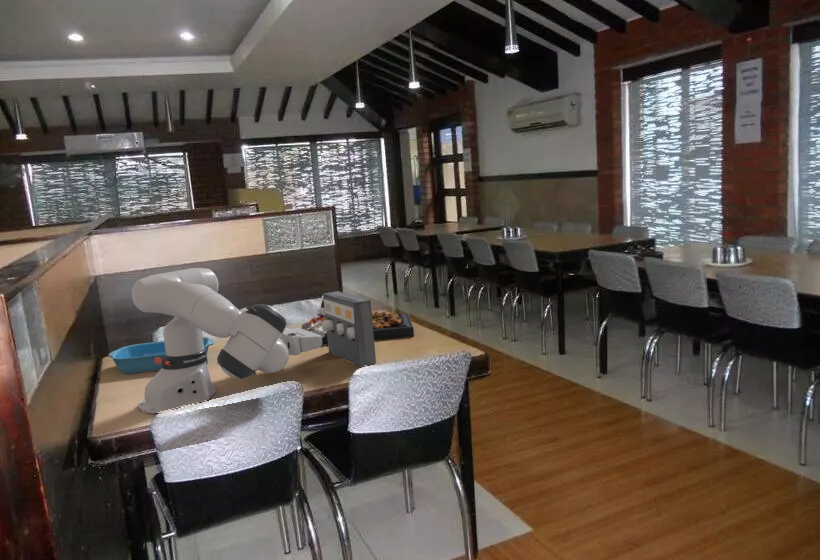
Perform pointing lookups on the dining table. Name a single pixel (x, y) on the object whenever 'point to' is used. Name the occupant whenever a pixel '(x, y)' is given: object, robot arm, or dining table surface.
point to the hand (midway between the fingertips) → (323, 333)
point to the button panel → (351, 315)
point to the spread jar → (321, 308)
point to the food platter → (382, 326)
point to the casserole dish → (144, 356)
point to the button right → (351, 333)
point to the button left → (328, 325)
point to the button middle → (340, 328)
